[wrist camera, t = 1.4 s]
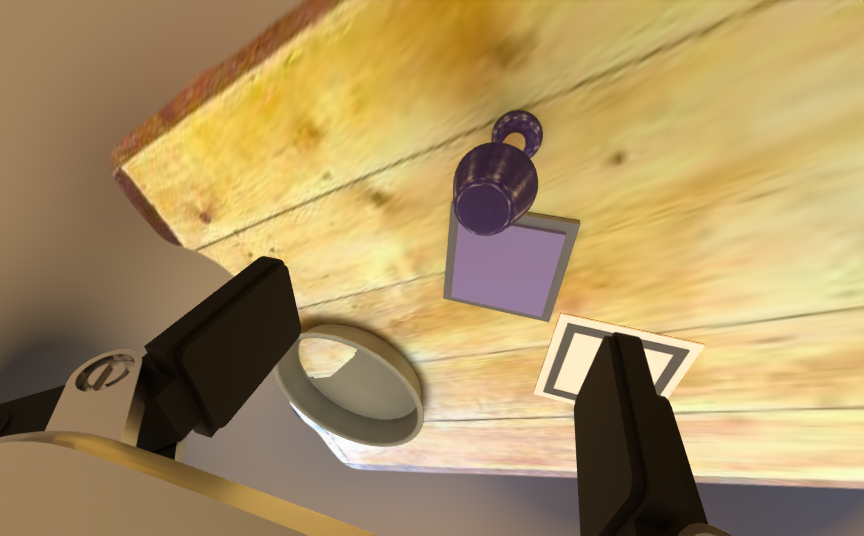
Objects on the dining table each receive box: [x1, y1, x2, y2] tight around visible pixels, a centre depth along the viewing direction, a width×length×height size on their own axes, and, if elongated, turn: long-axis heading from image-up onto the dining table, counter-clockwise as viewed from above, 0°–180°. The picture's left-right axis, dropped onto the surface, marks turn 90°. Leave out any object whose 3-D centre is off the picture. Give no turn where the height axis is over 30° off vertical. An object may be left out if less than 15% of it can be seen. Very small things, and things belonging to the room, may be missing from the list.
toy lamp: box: [453, 110, 543, 236], centre depth 23 cm, size 5×5×17 cm
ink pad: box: [443, 201, 580, 322], centre depth 37 cm, size 12×12×1 cm
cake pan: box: [273, 324, 424, 447], centre depth 54 cm, size 25×25×4 cm
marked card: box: [534, 313, 705, 405], centre depth 41 cm, size 14×14×1 cm
